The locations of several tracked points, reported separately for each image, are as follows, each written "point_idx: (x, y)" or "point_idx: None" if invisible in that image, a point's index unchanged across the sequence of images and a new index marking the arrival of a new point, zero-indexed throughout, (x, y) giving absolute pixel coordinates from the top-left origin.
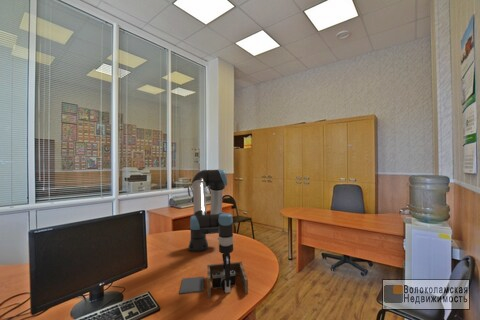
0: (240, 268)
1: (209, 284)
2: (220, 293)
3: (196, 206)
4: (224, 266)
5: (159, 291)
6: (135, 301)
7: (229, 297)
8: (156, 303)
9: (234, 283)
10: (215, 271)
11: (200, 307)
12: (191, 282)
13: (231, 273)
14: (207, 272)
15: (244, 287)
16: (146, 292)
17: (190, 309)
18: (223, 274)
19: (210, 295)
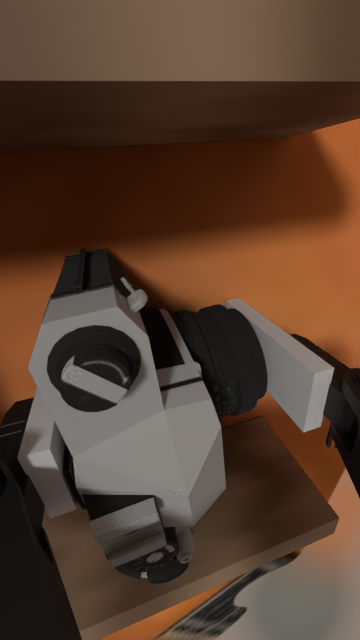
0: None
1: (330, 512)
2: None
3: None
4: (73, 628)
5: (162, 614)
6: (217, 621)
7: (292, 298)
8: (244, 574)
9: (120, 268)
10: None
11: (322, 435)
12: None
13: (154, 379)
14: (125, 626)
15: (288, 128)
16: (165, 636)
17: (319, 465)
18: (223, 486)
19: (271, 429)
